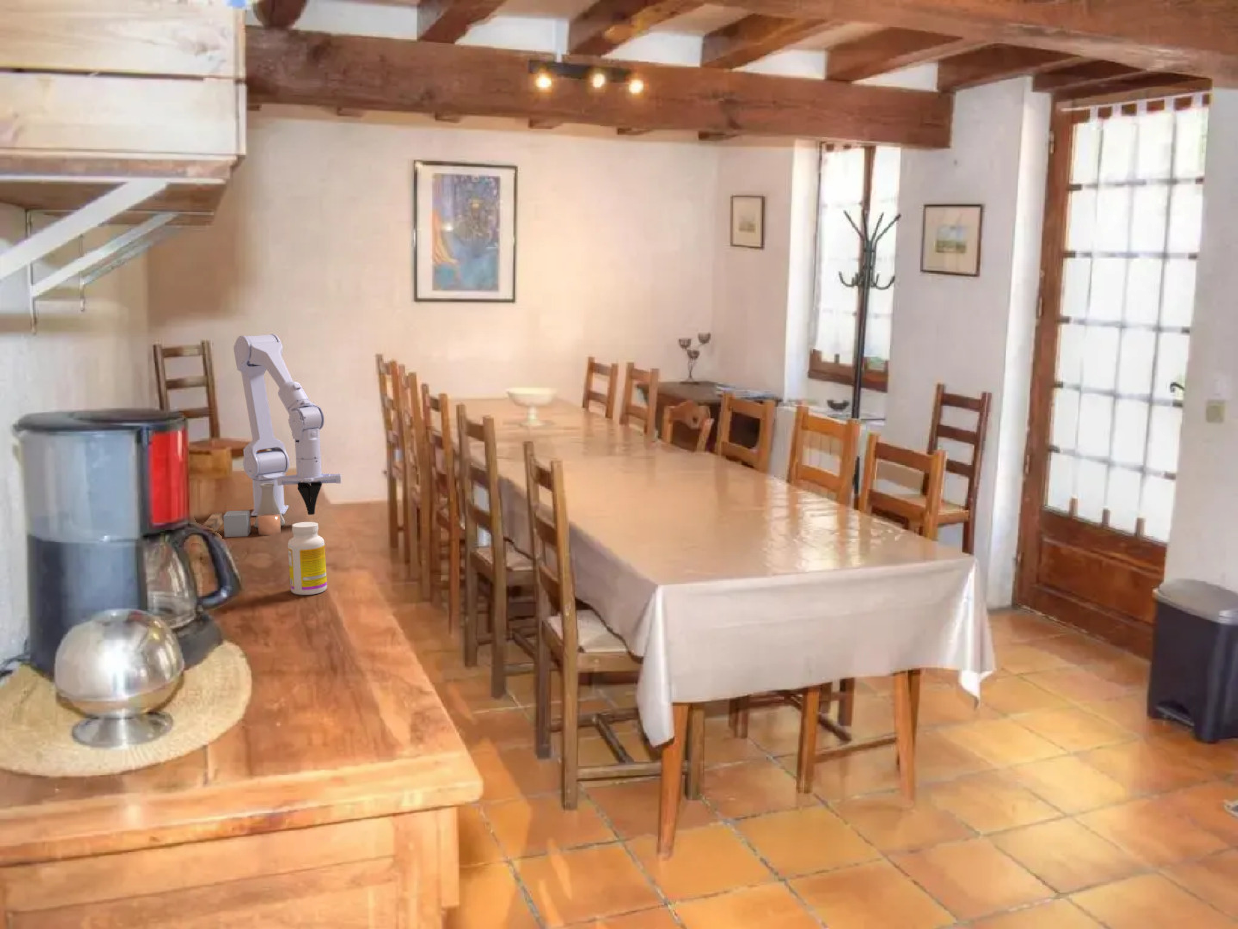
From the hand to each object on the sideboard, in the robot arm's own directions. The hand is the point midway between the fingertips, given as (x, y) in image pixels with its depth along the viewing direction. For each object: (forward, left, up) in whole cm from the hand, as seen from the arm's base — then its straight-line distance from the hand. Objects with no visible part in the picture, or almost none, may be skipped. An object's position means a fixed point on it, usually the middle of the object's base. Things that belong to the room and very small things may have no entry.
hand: (311, 513), depth 268 cm
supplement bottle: (+59, +5, -3) cm, 59 cm away
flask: (0, -10, -3) cm, 10 cm away
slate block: (+8, -16, -2) cm, 18 cm away
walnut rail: (+2, -22, -2) cm, 22 cm away
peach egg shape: (+8, -9, -2) cm, 12 cm away
